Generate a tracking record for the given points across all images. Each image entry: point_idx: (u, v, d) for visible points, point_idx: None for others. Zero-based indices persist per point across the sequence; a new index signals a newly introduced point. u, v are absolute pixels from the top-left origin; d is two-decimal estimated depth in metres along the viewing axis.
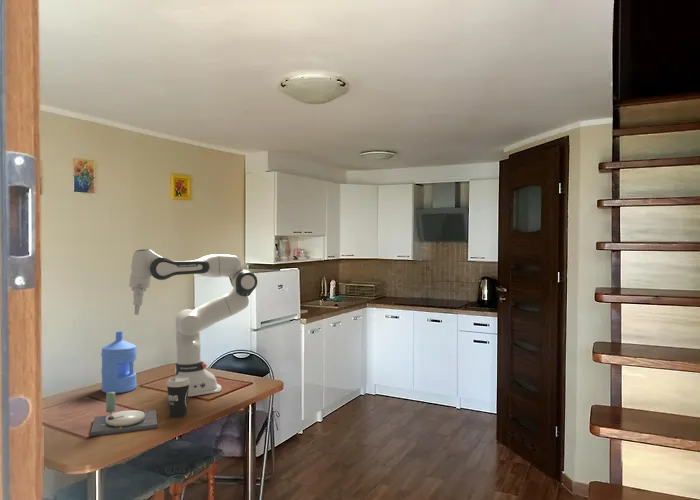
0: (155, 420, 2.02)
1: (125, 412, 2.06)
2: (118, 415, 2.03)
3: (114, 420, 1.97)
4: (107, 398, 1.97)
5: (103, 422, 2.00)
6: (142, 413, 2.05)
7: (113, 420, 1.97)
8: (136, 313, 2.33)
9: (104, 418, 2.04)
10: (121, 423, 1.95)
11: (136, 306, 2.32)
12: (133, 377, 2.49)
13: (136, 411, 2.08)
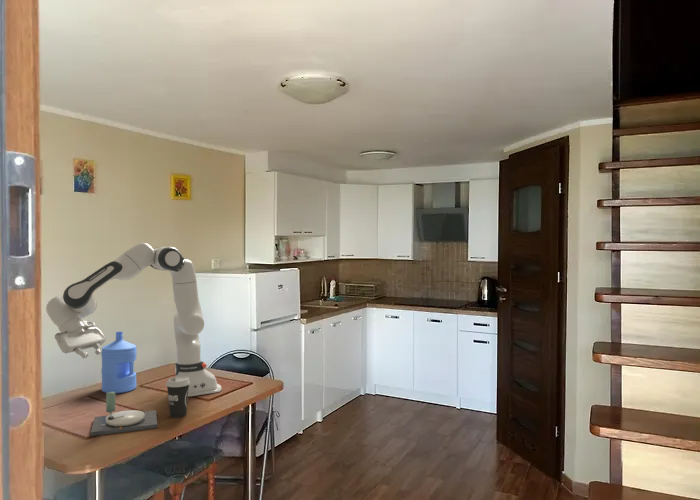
0: (155, 420, 2.02)
1: (125, 412, 2.06)
2: (118, 415, 2.03)
3: (114, 420, 1.97)
4: (107, 398, 1.97)
5: (103, 422, 2.00)
6: (142, 413, 2.05)
7: (113, 420, 1.97)
8: (83, 356, 2.06)
9: (104, 418, 2.04)
10: (121, 423, 1.95)
11: (76, 351, 2.05)
12: (133, 377, 2.49)
13: (136, 411, 2.08)
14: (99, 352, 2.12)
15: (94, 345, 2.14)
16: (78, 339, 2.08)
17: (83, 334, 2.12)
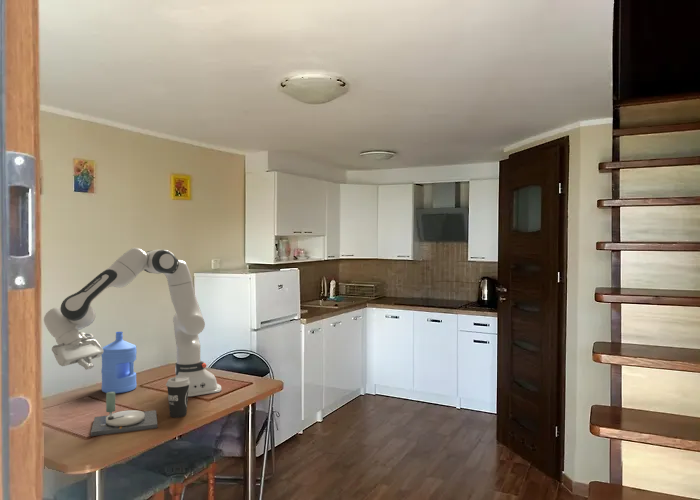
0: (155, 420, 2.02)
1: (125, 412, 2.06)
2: (118, 415, 2.03)
3: (114, 420, 1.97)
4: (107, 398, 1.97)
5: (103, 422, 2.00)
6: (142, 413, 2.05)
7: (113, 420, 1.97)
8: (86, 367, 2.06)
9: (104, 418, 2.04)
10: (121, 423, 1.95)
11: (79, 362, 2.06)
12: (133, 377, 2.49)
13: (136, 411, 2.08)
14: (91, 366, 2.07)
15: (86, 359, 2.09)
16: (75, 352, 2.05)
17: (81, 346, 2.10)
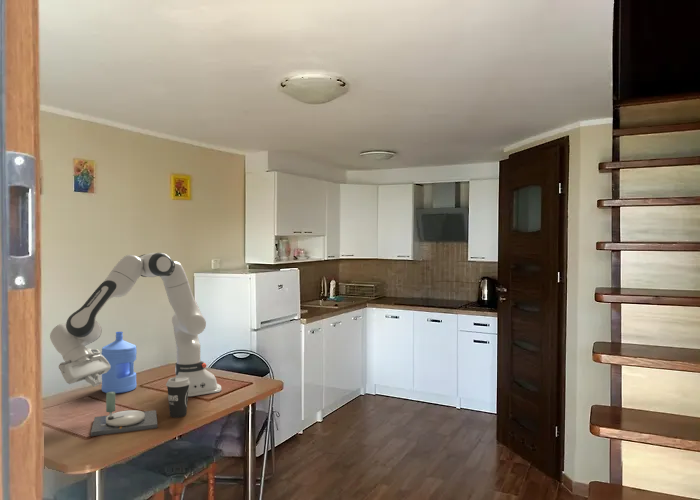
0: (155, 420, 2.02)
1: (125, 412, 2.06)
2: (118, 415, 2.03)
3: (114, 420, 1.97)
4: (107, 398, 1.97)
5: (103, 422, 2.00)
6: (142, 413, 2.05)
7: (113, 420, 1.97)
8: (94, 384, 2.04)
9: (104, 418, 2.04)
10: (121, 423, 1.95)
11: (86, 379, 2.03)
12: (133, 377, 2.49)
13: (136, 411, 2.08)
14: (98, 383, 2.05)
15: (93, 375, 2.07)
16: (82, 368, 2.03)
17: (88, 363, 2.07)
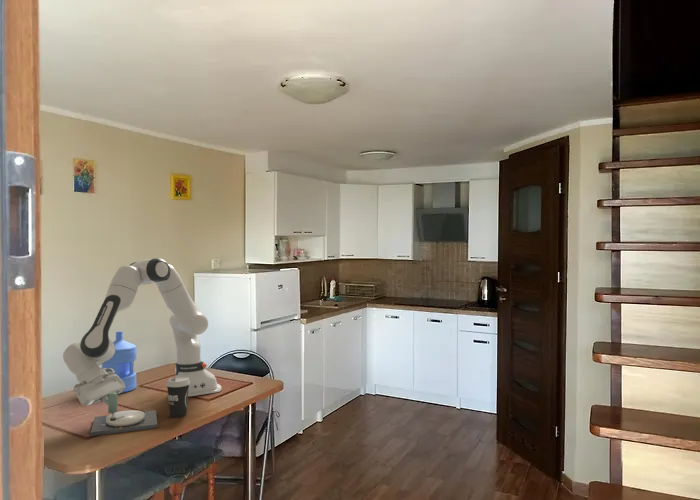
0: (155, 420, 2.02)
1: (121, 413, 2.05)
2: (117, 416, 2.02)
3: (118, 420, 1.96)
4: (110, 399, 1.96)
5: (103, 422, 2.00)
6: (141, 412, 2.07)
7: (117, 420, 1.96)
8: None
9: (104, 418, 2.04)
10: (127, 422, 1.96)
11: (103, 400, 1.99)
12: (133, 377, 2.49)
13: (132, 411, 2.08)
14: None
15: (107, 397, 2.01)
16: (98, 390, 1.98)
17: (102, 383, 2.02)
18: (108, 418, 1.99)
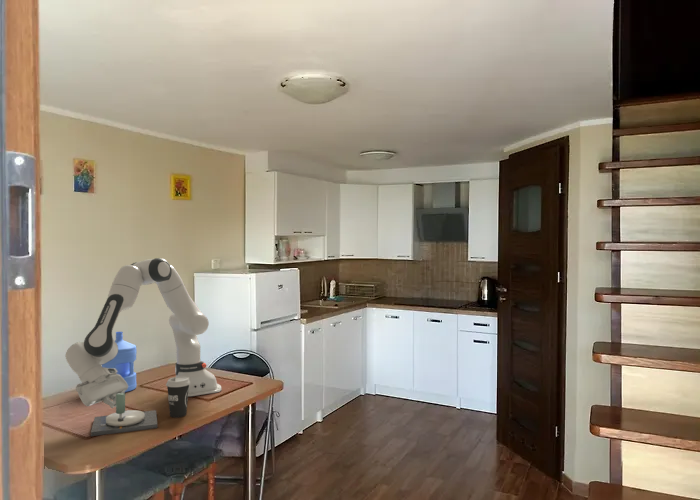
0: (155, 420, 2.02)
1: (115, 415, 2.03)
2: (117, 417, 2.00)
3: (128, 420, 1.97)
4: (121, 399, 1.95)
5: (103, 422, 2.00)
6: (134, 410, 2.08)
7: (127, 420, 1.97)
8: (112, 406, 1.96)
9: (104, 418, 2.04)
10: (138, 420, 1.99)
11: (104, 400, 1.96)
12: (133, 377, 2.49)
13: None
14: None
15: (111, 396, 1.99)
16: (100, 389, 1.96)
17: (105, 383, 2.00)
18: (112, 420, 1.97)
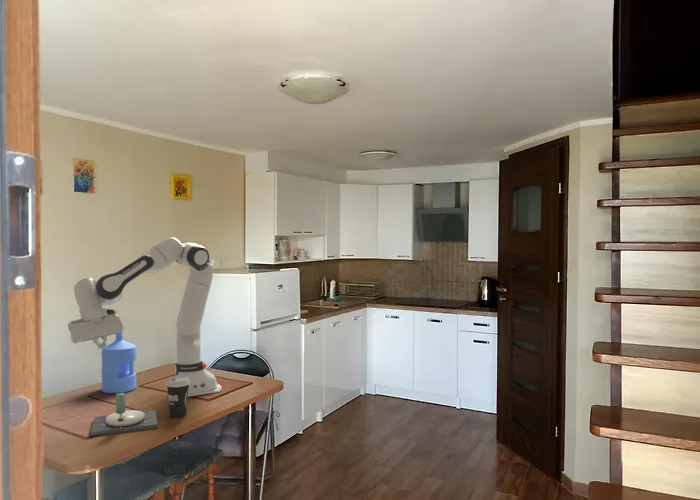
0: (155, 420, 2.02)
1: (115, 415, 2.03)
2: (117, 417, 2.00)
3: (128, 420, 1.97)
4: (121, 399, 1.95)
5: (103, 422, 2.00)
6: (134, 410, 2.08)
7: (127, 420, 1.97)
8: (98, 347, 2.11)
9: (104, 418, 2.04)
10: (138, 420, 1.99)
11: (93, 340, 2.11)
12: (133, 377, 2.49)
13: None
14: (103, 346, 2.11)
15: (102, 337, 2.13)
16: (90, 330, 2.10)
17: (99, 323, 2.13)
18: (112, 420, 1.97)
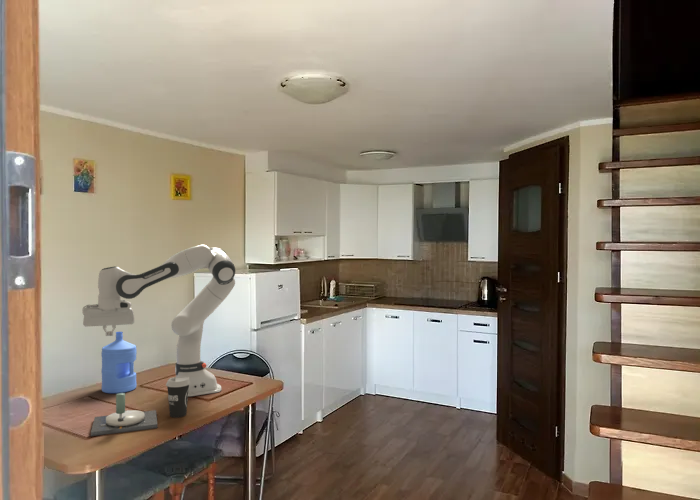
0: (155, 420, 2.02)
1: (115, 415, 2.03)
2: (117, 417, 2.00)
3: (128, 420, 1.97)
4: (121, 399, 1.95)
5: (103, 422, 2.00)
6: (134, 410, 2.08)
7: (127, 420, 1.97)
8: None
9: (104, 418, 2.04)
10: (138, 420, 1.99)
11: (103, 327, 2.22)
12: (133, 377, 2.49)
13: None
14: (109, 335, 2.23)
15: (112, 325, 2.24)
16: (101, 318, 2.20)
17: (111, 313, 2.22)
18: (112, 420, 1.97)
